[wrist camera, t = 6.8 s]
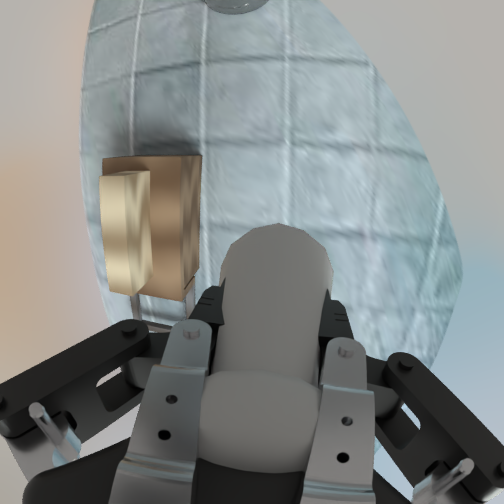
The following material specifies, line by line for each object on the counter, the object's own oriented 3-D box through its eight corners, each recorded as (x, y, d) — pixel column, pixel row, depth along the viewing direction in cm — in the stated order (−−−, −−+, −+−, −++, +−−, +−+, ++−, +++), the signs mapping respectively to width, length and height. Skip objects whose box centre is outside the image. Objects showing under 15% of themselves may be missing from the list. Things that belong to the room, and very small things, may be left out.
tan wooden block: (125, 156, 31) (74, 162, 22) (197, 155, 30) (159, 158, 21) (137, 323, 40) (106, 362, 31) (196, 336, 39) (173, 382, 30)
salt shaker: (256, 195, 15) (136, 366, 3) (345, 242, 15) (440, 452, 3) (216, 279, 17) (114, 469, 5) (296, 318, 17) (289, 522, 5)
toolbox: (133, 155, 33) (107, 158, 27) (202, 155, 32) (184, 156, 26) (136, 259, 38) (114, 275, 33) (199, 268, 37) (184, 288, 32)
